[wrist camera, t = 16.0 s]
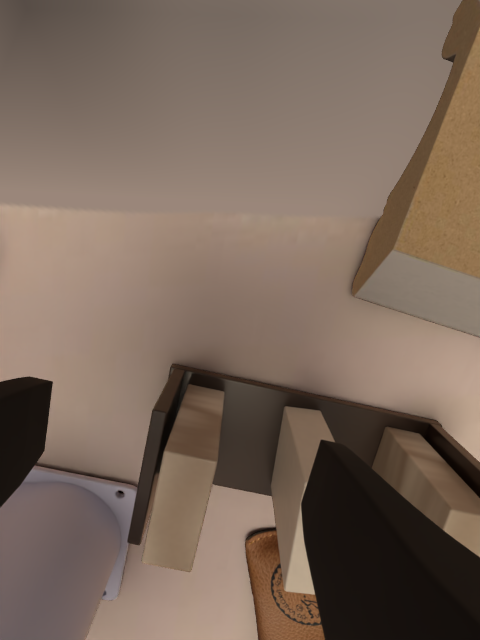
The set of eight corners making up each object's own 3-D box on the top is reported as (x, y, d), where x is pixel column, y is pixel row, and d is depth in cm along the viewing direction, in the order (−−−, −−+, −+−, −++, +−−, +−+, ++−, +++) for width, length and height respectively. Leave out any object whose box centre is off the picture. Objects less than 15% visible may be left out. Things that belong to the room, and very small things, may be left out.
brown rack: (151, 465, 21) (109, 573, 14) (172, 363, 20) (137, 427, 13) (402, 516, 22) (475, 641, 15) (437, 420, 21) (536, 510, 14)
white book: (270, 486, 21) (283, 592, 15) (284, 405, 20) (304, 481, 14) (305, 490, 21) (333, 598, 15) (320, 409, 20) (358, 488, 14)
